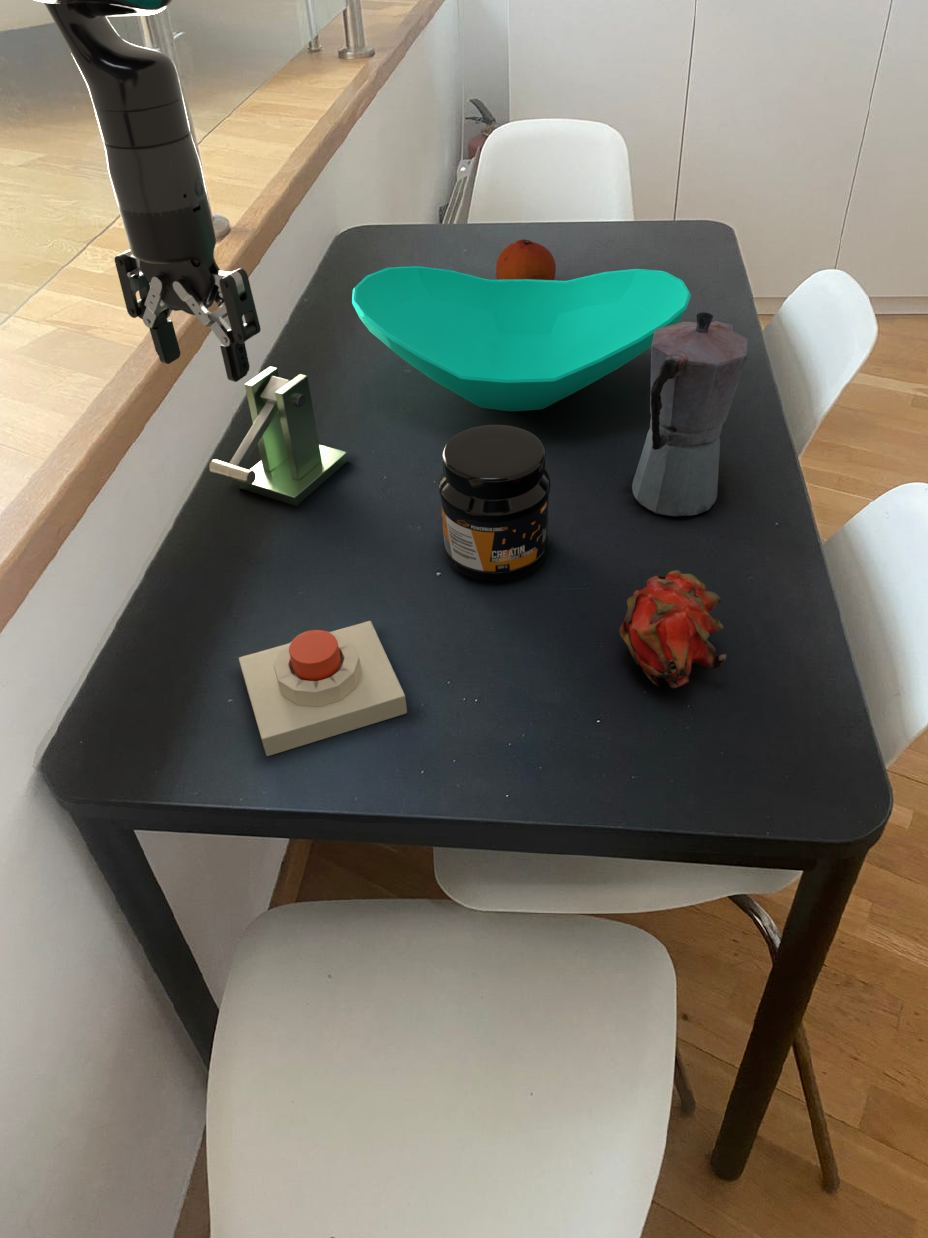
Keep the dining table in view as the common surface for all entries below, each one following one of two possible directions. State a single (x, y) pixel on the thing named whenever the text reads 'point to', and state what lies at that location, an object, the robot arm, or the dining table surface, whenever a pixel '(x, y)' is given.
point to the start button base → (322, 692)
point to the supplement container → (494, 502)
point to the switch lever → (251, 437)
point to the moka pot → (688, 414)
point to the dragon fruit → (672, 627)
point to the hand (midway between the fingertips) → (204, 368)
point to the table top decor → (517, 328)
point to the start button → (315, 655)
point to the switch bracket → (289, 443)
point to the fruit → (525, 262)
